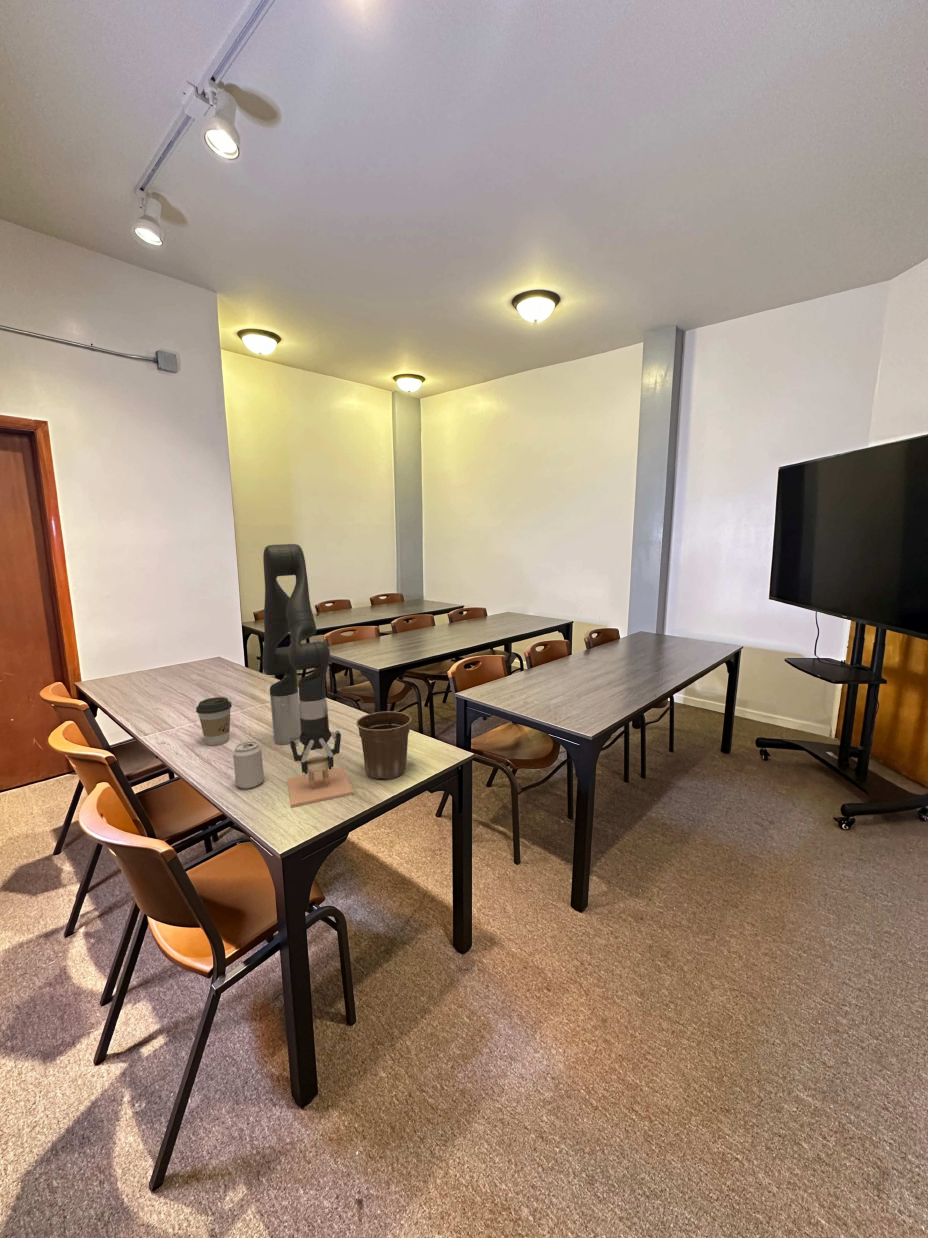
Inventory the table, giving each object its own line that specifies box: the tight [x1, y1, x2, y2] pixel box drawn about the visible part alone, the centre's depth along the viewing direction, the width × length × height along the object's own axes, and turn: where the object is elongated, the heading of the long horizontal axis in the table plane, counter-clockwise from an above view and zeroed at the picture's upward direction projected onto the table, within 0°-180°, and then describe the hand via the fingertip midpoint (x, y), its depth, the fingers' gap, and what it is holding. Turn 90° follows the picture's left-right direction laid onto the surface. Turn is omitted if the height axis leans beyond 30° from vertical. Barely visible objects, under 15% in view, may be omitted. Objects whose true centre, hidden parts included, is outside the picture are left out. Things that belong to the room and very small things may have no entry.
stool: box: [306, 755, 329, 787], centre depth 137 cm, size 6×6×6 cm
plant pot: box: [356, 710, 413, 780], centre depth 146 cm, size 16×16×16 cm
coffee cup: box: [195, 696, 233, 747], centre depth 171 cm, size 11×11×15 cm
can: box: [232, 740, 265, 790], centre depth 140 cm, size 8×8×12 cm
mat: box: [287, 767, 354, 808], centre depth 137 cm, size 16×16×1 cm
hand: (317, 770), depth 137 cm, fingers closed on stool, 6 cm apart
